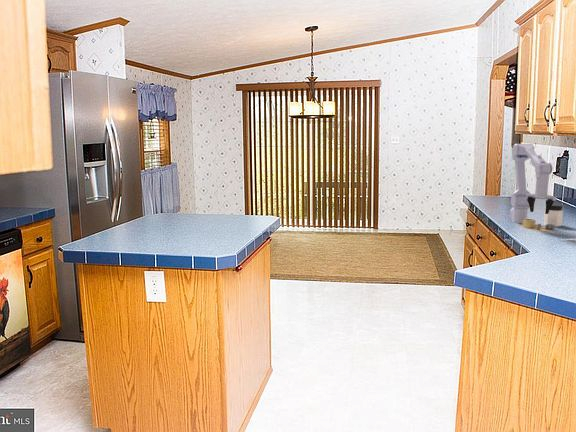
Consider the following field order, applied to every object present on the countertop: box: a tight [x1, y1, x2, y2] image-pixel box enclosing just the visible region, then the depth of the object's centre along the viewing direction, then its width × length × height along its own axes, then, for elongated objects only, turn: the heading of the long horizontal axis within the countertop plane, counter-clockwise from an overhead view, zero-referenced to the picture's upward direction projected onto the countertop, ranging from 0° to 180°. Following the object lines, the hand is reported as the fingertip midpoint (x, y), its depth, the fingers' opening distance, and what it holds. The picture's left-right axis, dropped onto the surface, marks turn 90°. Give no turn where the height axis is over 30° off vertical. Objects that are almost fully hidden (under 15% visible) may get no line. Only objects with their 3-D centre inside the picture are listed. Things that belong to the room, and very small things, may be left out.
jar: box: [542, 203, 564, 227], centre depth 290 cm, size 9×8×12 cm
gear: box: [545, 223, 556, 230], centre depth 277 cm, size 5×5×3 cm
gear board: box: [519, 223, 559, 232], centre depth 280 cm, size 16×13×4 cm
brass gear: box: [521, 218, 537, 229], centre depth 282 cm, size 5×5×4 cm
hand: (539, 212), depth 277 cm, fingers open, 7 cm apart
